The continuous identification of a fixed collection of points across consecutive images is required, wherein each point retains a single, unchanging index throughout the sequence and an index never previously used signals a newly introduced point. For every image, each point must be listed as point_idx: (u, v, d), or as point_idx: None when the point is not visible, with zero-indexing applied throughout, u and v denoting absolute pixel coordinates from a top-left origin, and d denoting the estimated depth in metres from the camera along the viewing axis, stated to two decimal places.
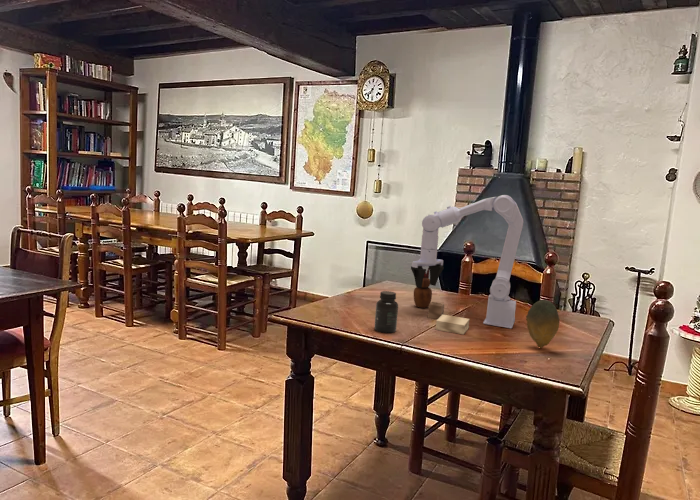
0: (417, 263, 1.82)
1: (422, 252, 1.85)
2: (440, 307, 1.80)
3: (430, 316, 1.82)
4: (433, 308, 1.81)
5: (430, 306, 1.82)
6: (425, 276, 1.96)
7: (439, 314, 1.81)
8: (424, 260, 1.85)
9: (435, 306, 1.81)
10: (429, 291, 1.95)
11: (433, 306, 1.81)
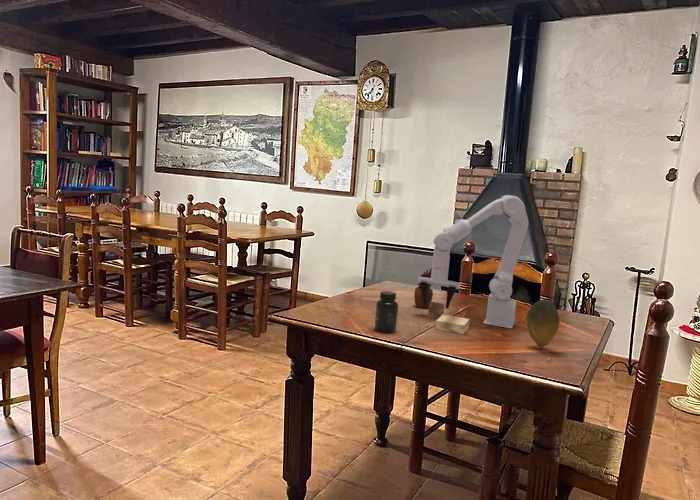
0: (419, 278, 1.83)
1: None
2: (440, 307, 1.80)
3: (430, 316, 1.82)
4: (433, 308, 1.81)
5: (430, 306, 1.82)
6: (427, 276, 1.96)
7: (439, 314, 1.81)
8: (430, 278, 1.82)
9: (435, 306, 1.81)
10: (430, 291, 1.95)
11: (433, 306, 1.81)
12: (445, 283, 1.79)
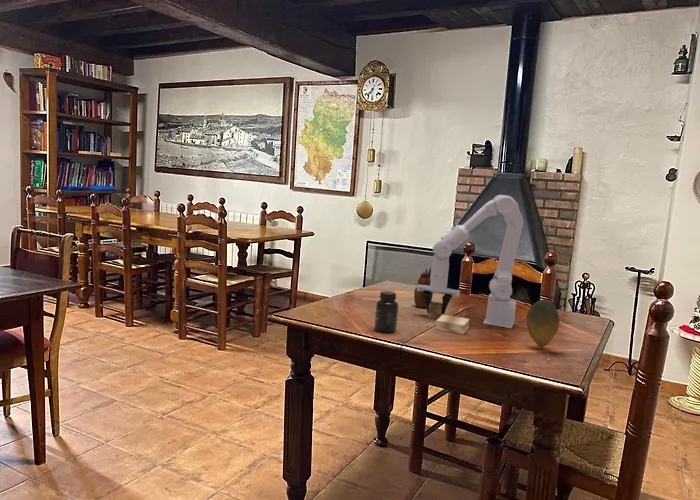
0: (418, 286, 1.84)
1: None
2: (440, 307, 1.80)
3: (430, 316, 1.82)
4: (433, 308, 1.81)
5: (430, 306, 1.82)
6: (426, 276, 1.96)
7: (439, 314, 1.81)
8: (430, 286, 1.83)
9: (435, 306, 1.81)
10: None
11: (433, 306, 1.81)
12: (444, 291, 1.79)
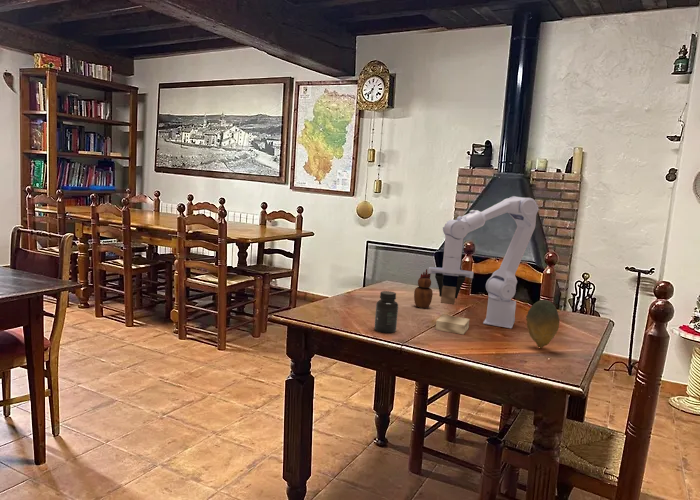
0: (430, 269, 1.74)
1: None
2: (454, 291, 1.72)
3: (443, 301, 1.73)
4: (446, 292, 1.73)
5: (443, 290, 1.73)
6: (426, 276, 1.96)
7: (453, 298, 1.72)
8: (442, 268, 1.73)
9: (449, 290, 1.72)
10: (430, 291, 1.95)
11: (446, 290, 1.73)
12: (459, 272, 1.71)
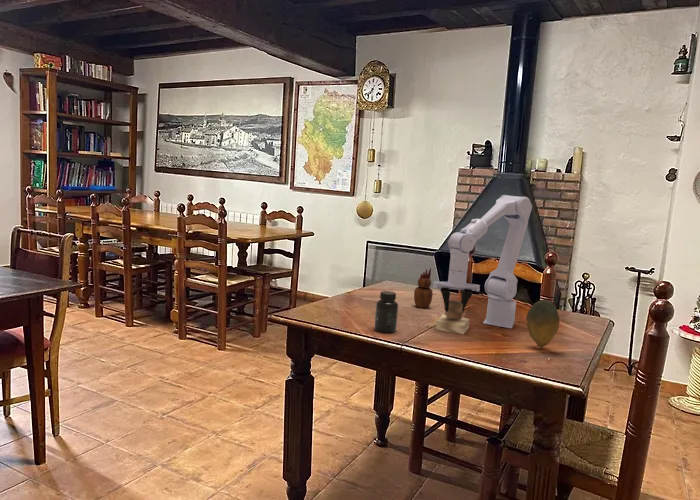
0: (436, 284, 1.68)
1: (449, 273, 1.70)
2: (461, 305, 1.69)
3: (451, 316, 1.69)
4: (454, 307, 1.69)
5: (450, 305, 1.68)
6: (426, 276, 1.96)
7: (460, 313, 1.69)
8: (448, 282, 1.69)
9: (456, 304, 1.68)
10: (430, 291, 1.95)
11: (454, 305, 1.68)
12: (466, 286, 1.67)
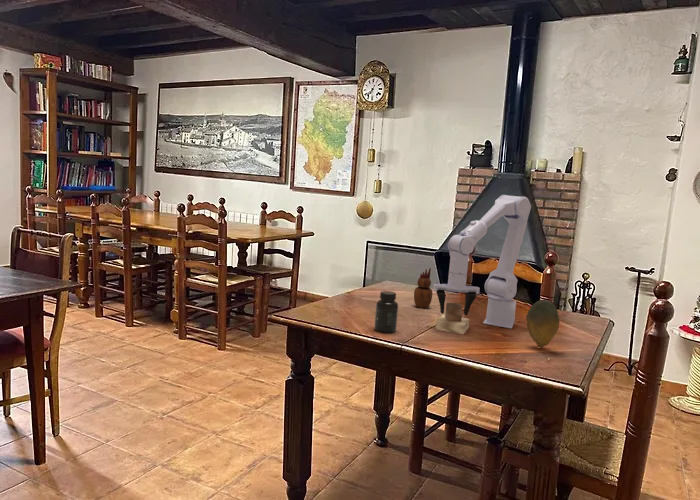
0: (436, 286, 1.68)
1: None
2: (461, 308, 1.69)
3: (450, 318, 1.69)
4: (454, 309, 1.69)
5: (450, 307, 1.69)
6: (426, 276, 1.96)
7: (460, 315, 1.69)
8: (448, 284, 1.69)
9: (456, 307, 1.69)
10: (429, 291, 1.95)
11: (454, 307, 1.69)
12: (466, 289, 1.68)
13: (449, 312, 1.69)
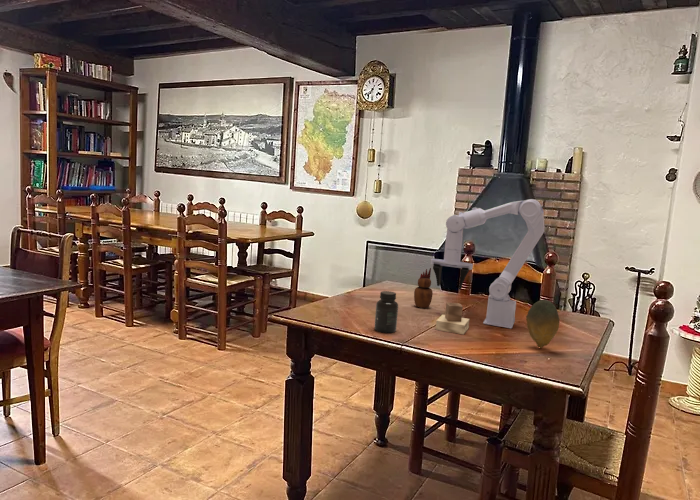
0: (432, 260, 1.87)
1: None
2: (461, 308, 1.69)
3: (450, 318, 1.69)
4: (454, 309, 1.69)
5: (450, 307, 1.69)
6: (426, 276, 1.96)
7: (460, 315, 1.69)
8: None
9: (456, 307, 1.69)
10: (429, 291, 1.95)
11: (454, 307, 1.69)
12: (458, 264, 1.83)
13: (449, 312, 1.69)
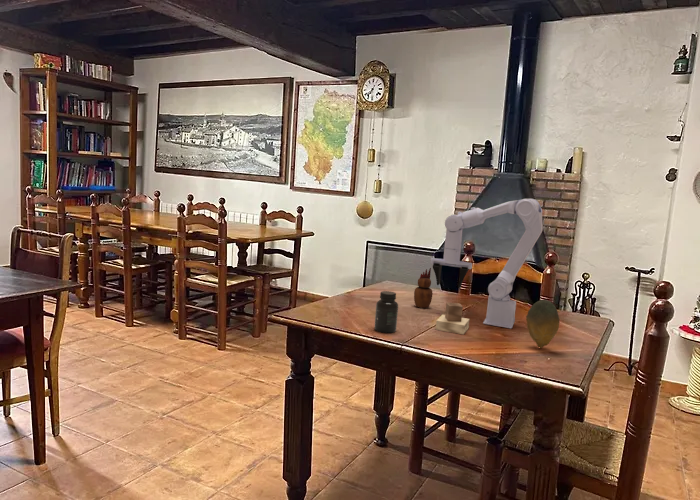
0: (432, 259, 1.89)
1: None
2: (461, 308, 1.69)
3: (450, 318, 1.69)
4: (454, 309, 1.69)
5: (450, 307, 1.69)
6: (426, 276, 1.96)
7: (460, 315, 1.69)
8: (443, 259, 1.88)
9: (456, 307, 1.69)
10: (429, 291, 1.95)
11: (454, 307, 1.69)
12: (457, 263, 1.85)
13: (449, 312, 1.69)
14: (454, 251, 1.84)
